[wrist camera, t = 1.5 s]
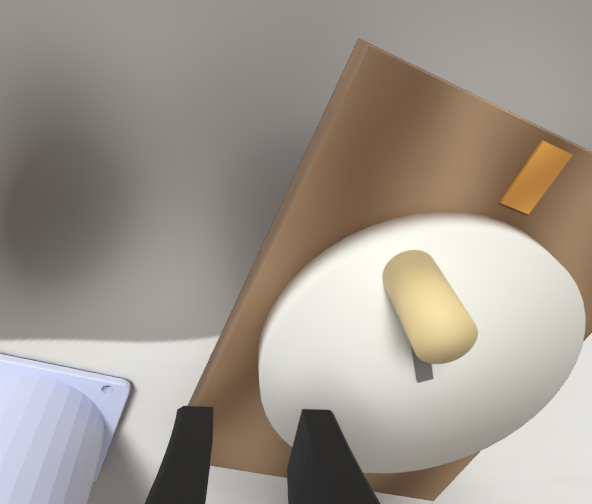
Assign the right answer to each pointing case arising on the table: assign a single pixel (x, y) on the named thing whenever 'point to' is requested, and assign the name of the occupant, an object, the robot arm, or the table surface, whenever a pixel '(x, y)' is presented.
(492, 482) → the table surface
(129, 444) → the table surface
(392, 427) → the dial
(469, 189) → the brown flat wooden board
